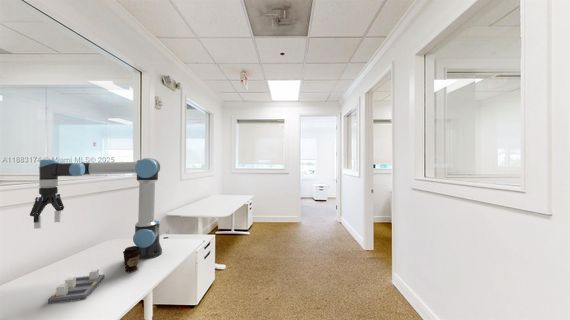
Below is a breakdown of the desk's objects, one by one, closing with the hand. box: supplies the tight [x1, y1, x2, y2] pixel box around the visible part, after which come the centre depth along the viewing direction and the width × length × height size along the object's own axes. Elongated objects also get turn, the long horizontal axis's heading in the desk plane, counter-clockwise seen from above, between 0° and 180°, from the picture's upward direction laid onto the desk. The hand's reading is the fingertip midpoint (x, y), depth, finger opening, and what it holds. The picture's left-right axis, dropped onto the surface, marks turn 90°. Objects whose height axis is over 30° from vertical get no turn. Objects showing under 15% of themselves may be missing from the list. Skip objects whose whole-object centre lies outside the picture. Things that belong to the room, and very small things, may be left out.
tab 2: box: [64, 276, 77, 288], centre depth 120 cm, size 3×3×4 cm
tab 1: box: [55, 283, 68, 296], centre depth 113 cm, size 3×3×4 cm
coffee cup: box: [122, 245, 140, 274], centre depth 142 cm, size 9×8×13 cm
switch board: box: [47, 273, 106, 304], centre depth 121 cm, size 14×21×2 cm, turn 16°
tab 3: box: [88, 268, 100, 280], centre depth 129 cm, size 3×3×4 cm
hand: (48, 225), depth 138 cm, fingers open, 13 cm apart
